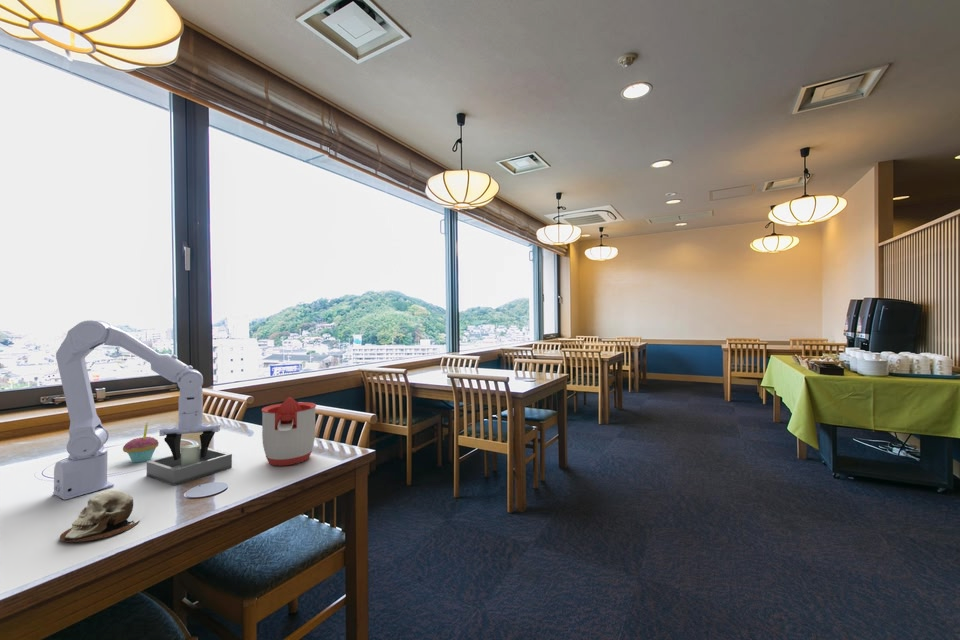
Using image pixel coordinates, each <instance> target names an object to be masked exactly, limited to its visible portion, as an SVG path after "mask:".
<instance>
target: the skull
mask: <svg viewBox="0 0 960 640" xmlns="http://www.w3.org/2000/svg"><path fill="white" fill-rule="evenodd" d="M133 509H134V498H133V497H132V496H131V495H130V494H128V493H127V492H124V491H120V490H113V489H108V490H104V491H102V492H100V493H98V494H96V495H94V496H93V497H91V498H90V499H89V500H88V501H87V506H85V507H84V508H82V510H81V511H80V514H79V515H78V517H77V518H76V519H75V520H73V521H72V523H71V527H70V528H68V529H67V530H65V531H63V532H62V533H61V534H60V535H59V539H60V540H61V541H62V542H66V543H76V542H81V543H82V542H90V541H93V540H96V541H98V540H101V539H104V538H105V539H107V538H111V537H112V536H114V535H117V534H121V533H124V532H126V531H128V530H130V529H132V528H134V527H135V526H137V525H138V524H139V523H140V520H141V519H139V520H138V521H134V520H132V521H130V520H128V519H129V518H130V516H131V514H132V511H133Z"/></svg>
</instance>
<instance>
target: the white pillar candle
mask: <svg viewBox="0 0 960 640" xmlns="http://www.w3.org/2000/svg"><path fill="white" fill-rule="evenodd" d="M200 448H201V444H196V443H195V444H194V443H193V444H188V445H184V446H182V447H180V453H181V467H184V466H188V465H192V464H195V463H199V460H200Z"/></svg>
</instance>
